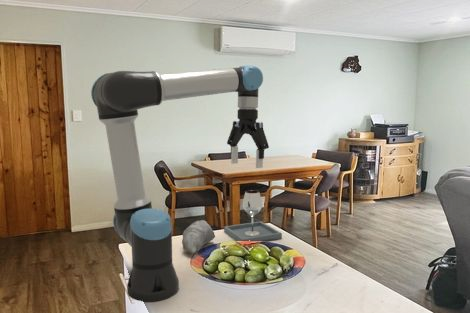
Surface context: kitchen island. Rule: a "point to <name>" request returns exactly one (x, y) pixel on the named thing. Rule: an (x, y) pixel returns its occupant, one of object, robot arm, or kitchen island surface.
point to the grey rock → (197, 236)
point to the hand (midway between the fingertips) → (246, 165)
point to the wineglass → (252, 207)
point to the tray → (265, 231)
